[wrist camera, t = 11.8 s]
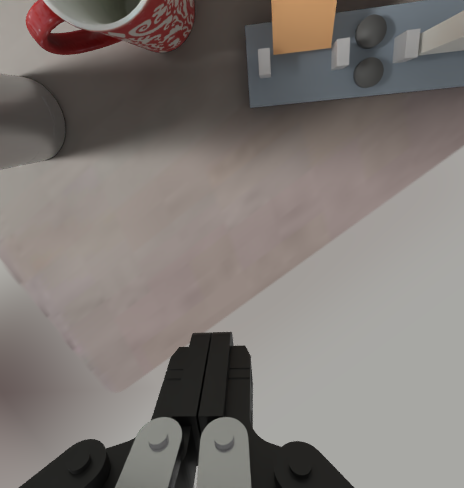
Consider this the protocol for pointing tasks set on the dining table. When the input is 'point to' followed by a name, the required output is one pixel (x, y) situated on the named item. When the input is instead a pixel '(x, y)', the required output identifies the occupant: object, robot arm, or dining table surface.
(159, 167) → the dining table surface
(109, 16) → the mug
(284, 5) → the orange paddle
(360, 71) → the paddle holder
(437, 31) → the cream paddle
